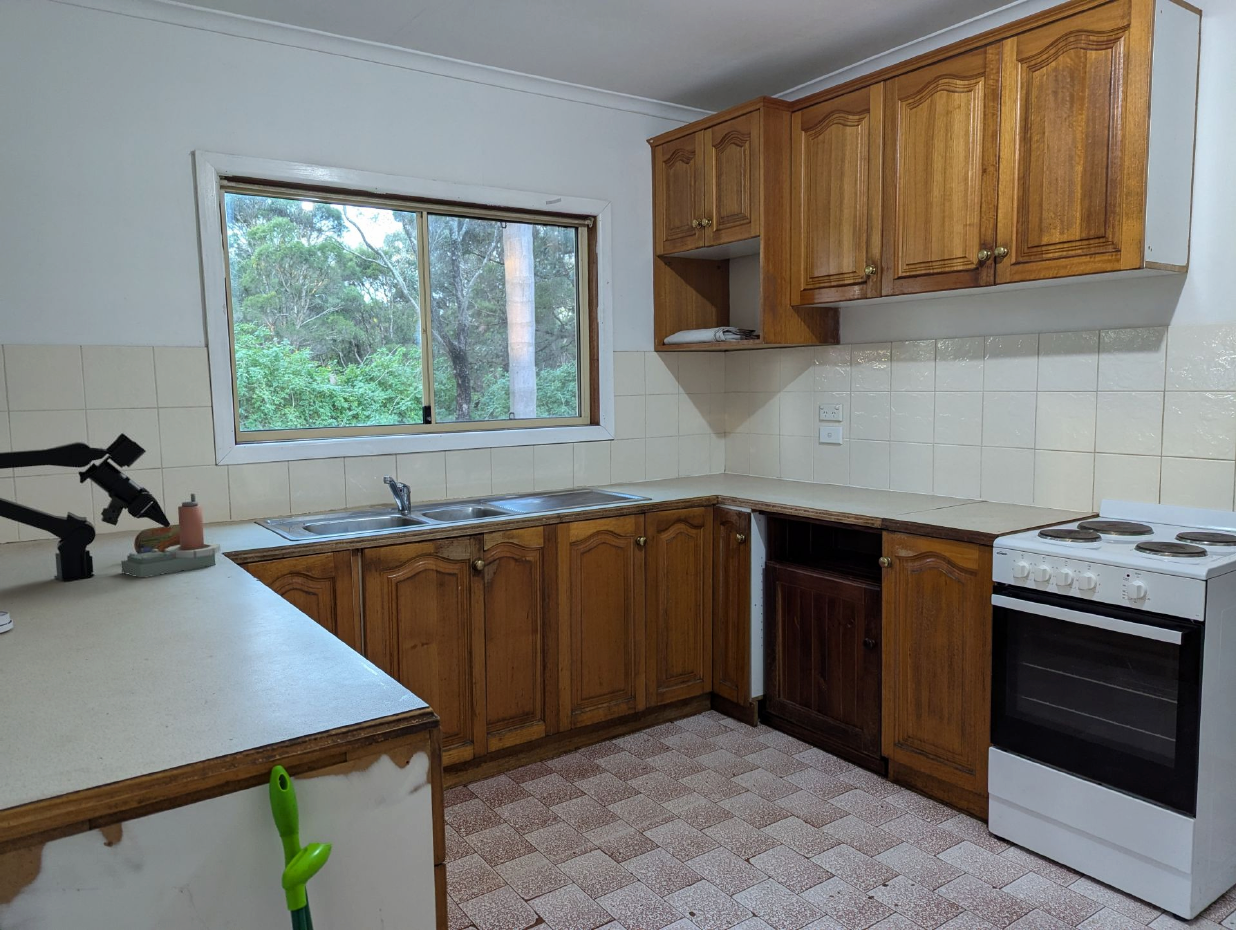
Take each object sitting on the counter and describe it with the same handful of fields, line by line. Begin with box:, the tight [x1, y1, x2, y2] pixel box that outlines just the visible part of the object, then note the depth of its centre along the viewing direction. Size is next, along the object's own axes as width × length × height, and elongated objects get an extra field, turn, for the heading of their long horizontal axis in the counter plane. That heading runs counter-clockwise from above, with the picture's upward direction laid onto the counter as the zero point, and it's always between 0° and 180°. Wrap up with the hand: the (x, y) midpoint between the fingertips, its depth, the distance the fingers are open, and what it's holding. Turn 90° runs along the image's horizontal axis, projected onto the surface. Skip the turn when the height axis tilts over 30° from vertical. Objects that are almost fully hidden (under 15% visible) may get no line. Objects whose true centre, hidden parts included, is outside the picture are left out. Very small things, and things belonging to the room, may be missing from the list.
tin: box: [133, 523, 180, 554], centre depth 227 cm, size 15×3×8 cm, turn 143°
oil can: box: [177, 493, 205, 550], centre depth 216 cm, size 5×5×15 cm
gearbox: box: [120, 542, 221, 578], centre depth 213 cm, size 21×12×5 cm, turn 143°
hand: (167, 523), depth 213 cm, fingers open, 9 cm apart
